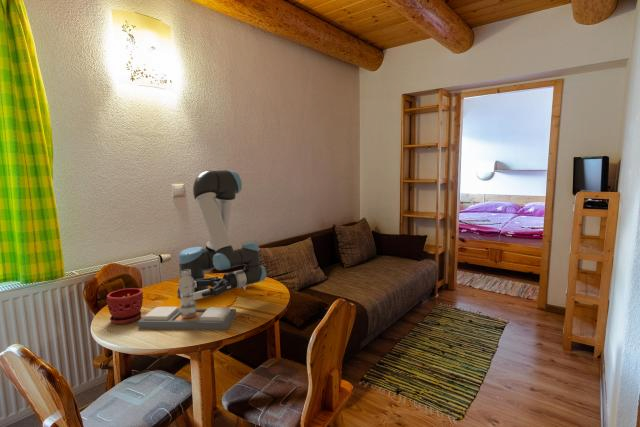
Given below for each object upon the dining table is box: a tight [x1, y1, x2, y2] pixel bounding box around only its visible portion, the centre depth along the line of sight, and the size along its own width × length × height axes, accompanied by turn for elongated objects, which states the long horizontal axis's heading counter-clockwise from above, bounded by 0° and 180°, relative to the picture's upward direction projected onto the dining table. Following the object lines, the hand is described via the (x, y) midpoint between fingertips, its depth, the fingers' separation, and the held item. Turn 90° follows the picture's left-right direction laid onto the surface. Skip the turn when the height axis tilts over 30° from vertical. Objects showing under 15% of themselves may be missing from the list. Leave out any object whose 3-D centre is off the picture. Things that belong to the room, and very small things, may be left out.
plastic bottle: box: [177, 269, 198, 318], centre depth 137 cm, size 6×7×20 cm
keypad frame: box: [137, 308, 237, 331], centre depth 138 cm, size 13×36×3 cm, turn 88°
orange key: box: [175, 312, 203, 321], centre depth 138 cm, size 9×9×2 cm
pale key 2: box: [200, 306, 232, 321], centre depth 138 cm, size 9×9×2 cm
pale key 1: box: [143, 306, 179, 320], centre depth 139 cm, size 9×9×2 cm
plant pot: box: [106, 287, 144, 325], centre depth 141 cm, size 13×13×12 cm
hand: (186, 292), depth 136 cm, fingers open, 13 cm apart
